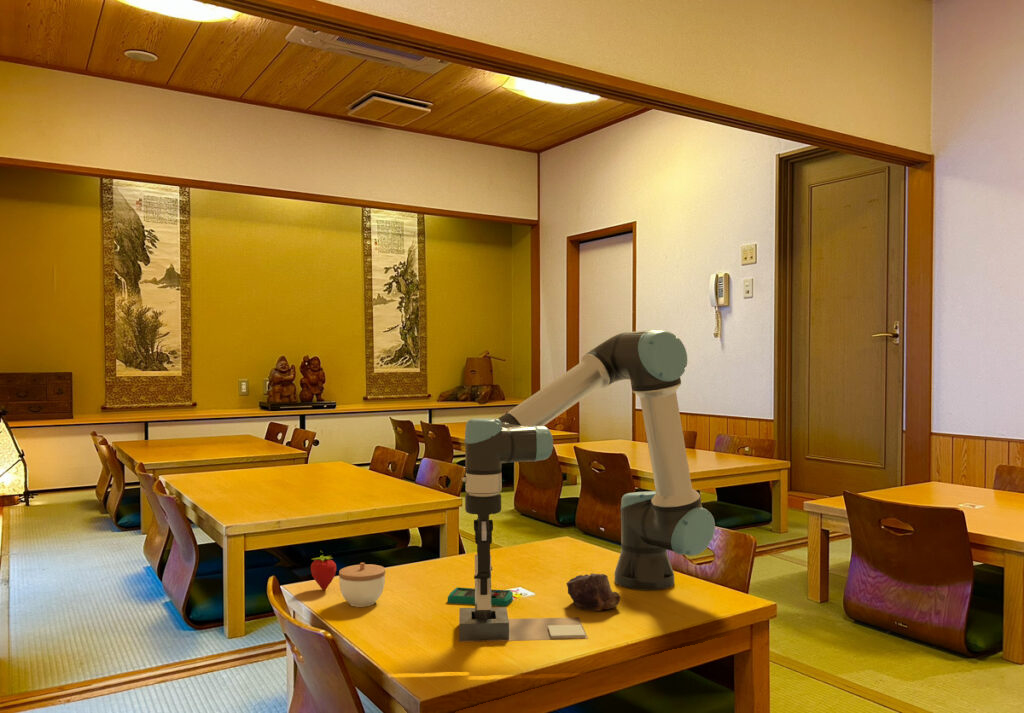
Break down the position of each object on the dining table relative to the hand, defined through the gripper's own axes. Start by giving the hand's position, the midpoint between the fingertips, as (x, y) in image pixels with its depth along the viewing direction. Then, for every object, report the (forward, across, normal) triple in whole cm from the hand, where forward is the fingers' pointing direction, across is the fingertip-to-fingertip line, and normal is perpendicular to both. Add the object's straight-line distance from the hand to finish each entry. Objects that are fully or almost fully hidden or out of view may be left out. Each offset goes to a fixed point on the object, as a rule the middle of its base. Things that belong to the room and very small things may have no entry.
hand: (483, 606), depth 159 cm
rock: (+6, -14, +25) cm, 29 cm away
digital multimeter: (+7, -22, 0) cm, 22 cm away
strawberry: (+6, -34, -39) cm, 52 cm away
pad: (+5, +2, +17) cm, 18 cm away
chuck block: (+5, 0, 0) cm, 5 cm away
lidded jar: (+6, -23, -28) cm, 37 cm away
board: (+6, -1, +8) cm, 10 cm away
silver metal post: (+4, 0, 0) cm, 4 cm away
